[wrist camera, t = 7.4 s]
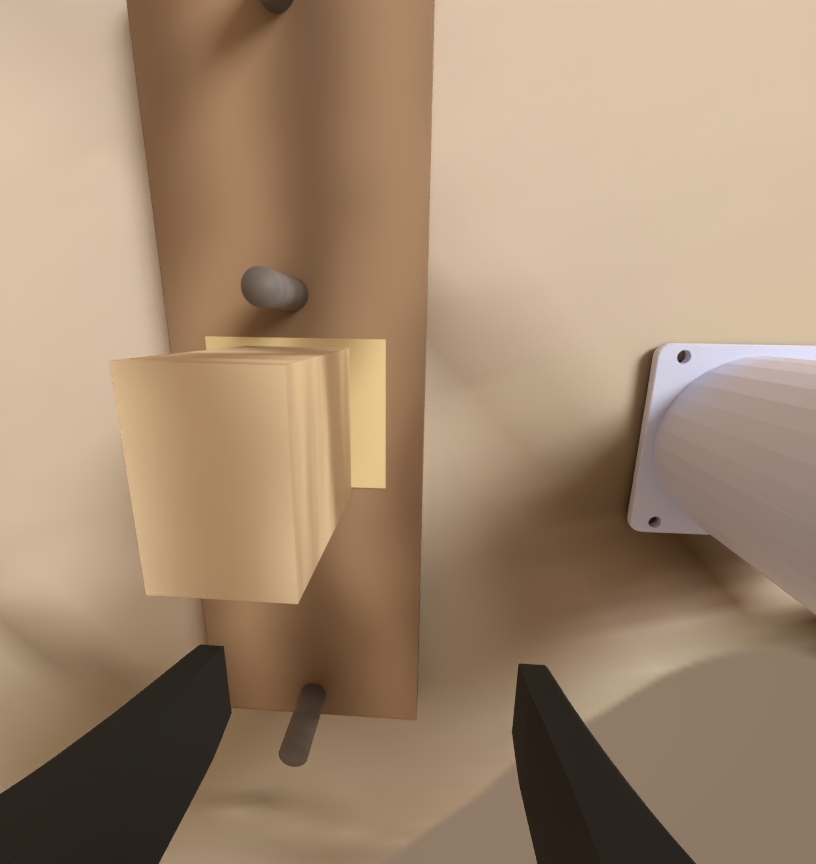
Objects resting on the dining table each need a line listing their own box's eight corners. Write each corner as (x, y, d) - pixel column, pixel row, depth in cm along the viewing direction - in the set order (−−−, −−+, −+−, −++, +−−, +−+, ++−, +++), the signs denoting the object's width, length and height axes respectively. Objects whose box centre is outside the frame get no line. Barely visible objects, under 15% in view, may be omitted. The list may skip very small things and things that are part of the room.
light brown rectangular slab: (349, 348, 16) (285, 365, 9) (351, 495, 17) (297, 603, 11) (242, 345, 16) (102, 360, 9) (253, 490, 18) (140, 594, 11)
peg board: (435, -24, 14) (435, -179, 10) (417, 693, 22) (413, 786, 17) (151, -15, 15) (31, -158, 10) (229, 681, 22) (179, 768, 18)
